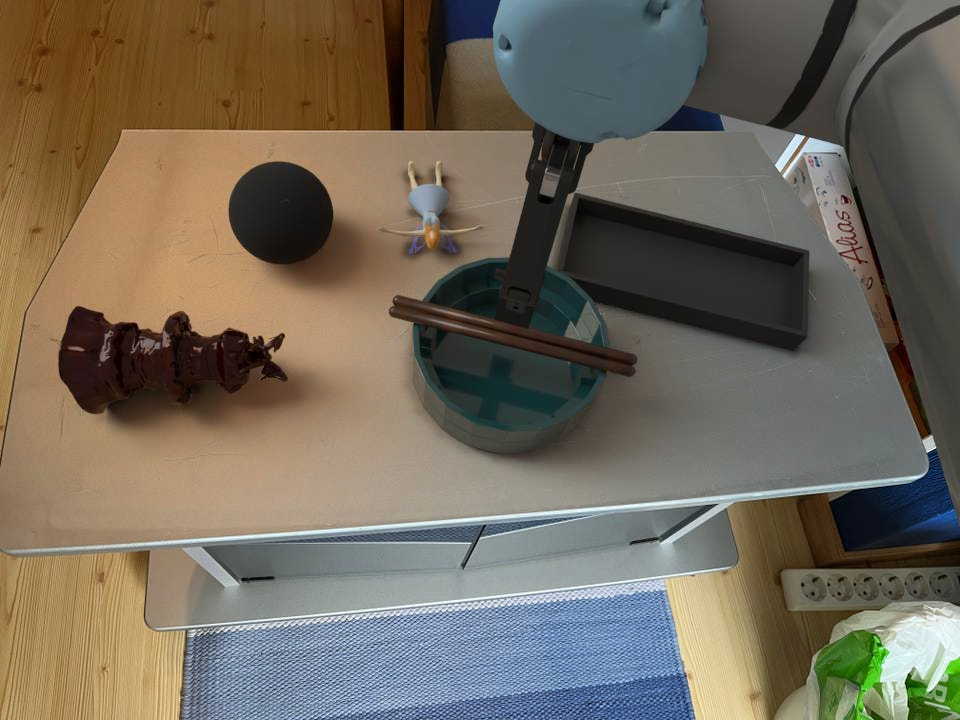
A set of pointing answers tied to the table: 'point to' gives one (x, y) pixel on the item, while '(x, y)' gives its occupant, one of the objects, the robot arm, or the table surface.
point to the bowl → (506, 364)
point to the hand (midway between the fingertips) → (532, 252)
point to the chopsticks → (513, 336)
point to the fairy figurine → (429, 211)
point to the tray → (687, 271)
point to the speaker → (280, 213)
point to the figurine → (155, 359)
